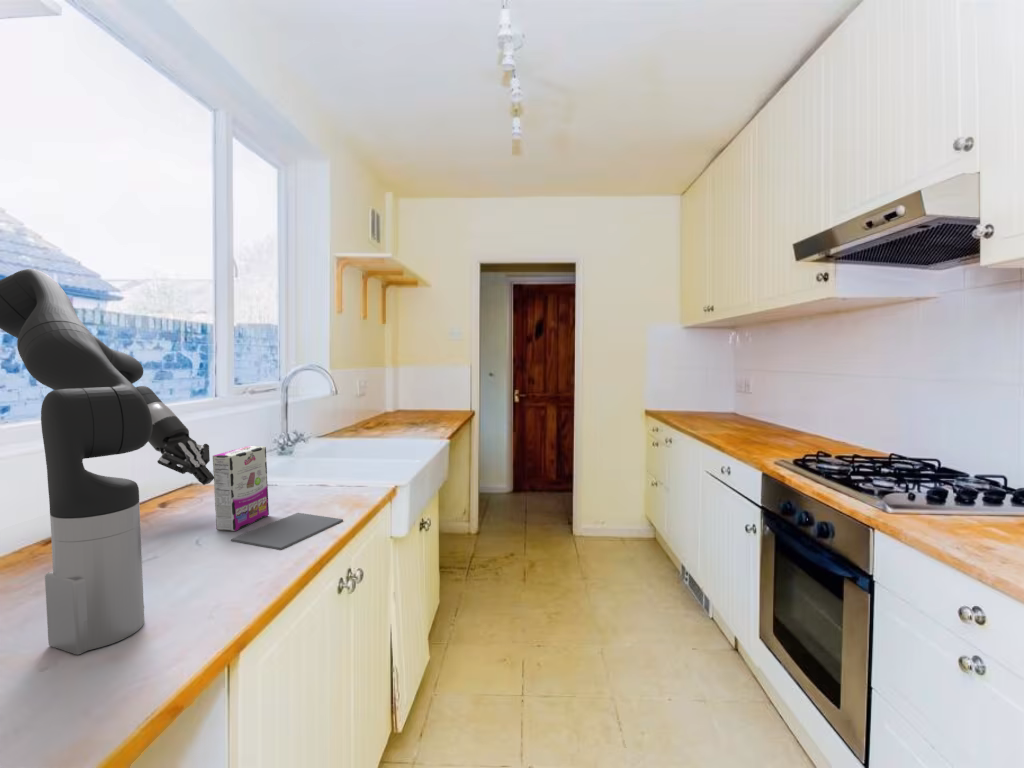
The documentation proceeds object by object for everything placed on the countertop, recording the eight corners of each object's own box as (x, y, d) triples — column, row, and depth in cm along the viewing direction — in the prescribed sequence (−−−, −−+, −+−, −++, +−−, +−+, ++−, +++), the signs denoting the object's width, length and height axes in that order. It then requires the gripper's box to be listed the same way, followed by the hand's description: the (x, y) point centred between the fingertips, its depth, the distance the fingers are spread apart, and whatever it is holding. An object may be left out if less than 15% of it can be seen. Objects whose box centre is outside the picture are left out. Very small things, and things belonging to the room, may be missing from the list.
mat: (280, 549, 98) (280, 547, 98) (231, 540, 102) (230, 538, 102) (343, 520, 114) (343, 519, 114) (297, 514, 119) (297, 512, 119)
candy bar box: (250, 514, 119) (248, 445, 118) (269, 515, 118) (267, 446, 117) (213, 530, 108) (211, 454, 107) (234, 532, 107) (231, 455, 106)
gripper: (175, 433, 123) (221, 485, 121) (124, 442, 110) (175, 501, 108) (193, 411, 122) (240, 464, 120) (144, 418, 109) (195, 477, 107)
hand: (209, 481), depth 114 cm, fingers closed
